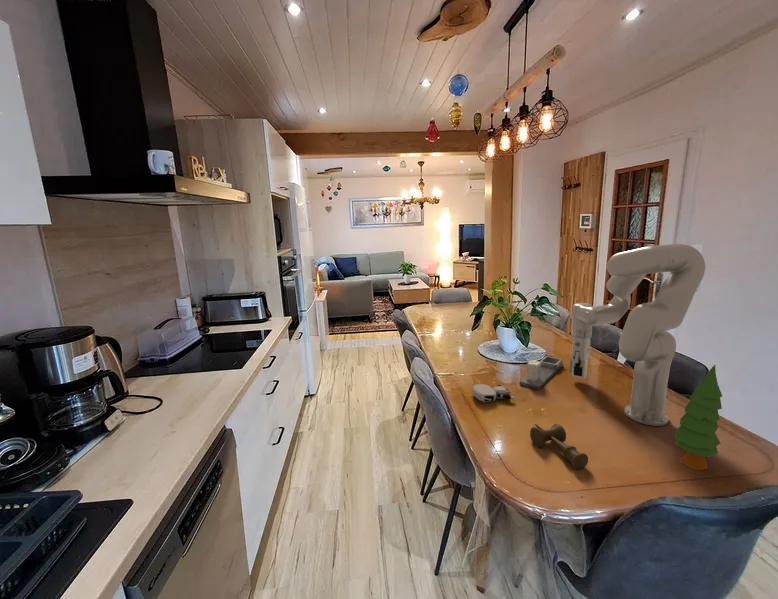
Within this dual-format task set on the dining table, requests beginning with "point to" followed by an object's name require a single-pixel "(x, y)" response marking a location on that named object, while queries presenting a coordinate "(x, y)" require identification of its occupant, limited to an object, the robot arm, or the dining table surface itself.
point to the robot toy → (490, 392)
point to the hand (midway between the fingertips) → (579, 373)
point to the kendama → (558, 444)
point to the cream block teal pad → (584, 371)
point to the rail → (541, 371)
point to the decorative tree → (700, 423)
